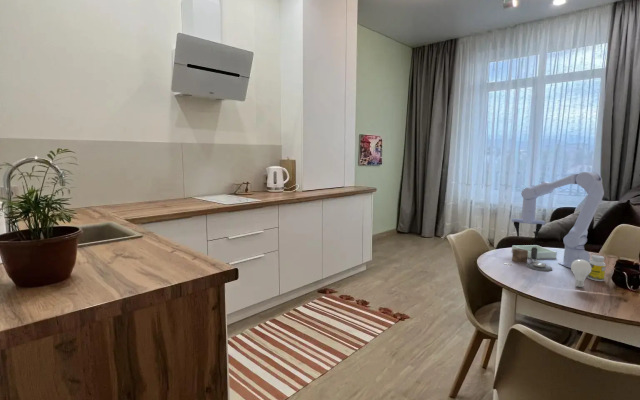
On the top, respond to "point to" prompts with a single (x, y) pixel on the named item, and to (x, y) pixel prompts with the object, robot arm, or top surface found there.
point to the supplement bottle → (597, 268)
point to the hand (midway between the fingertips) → (526, 237)
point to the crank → (534, 259)
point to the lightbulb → (580, 271)
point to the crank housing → (536, 267)
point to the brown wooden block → (520, 255)
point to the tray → (541, 252)
